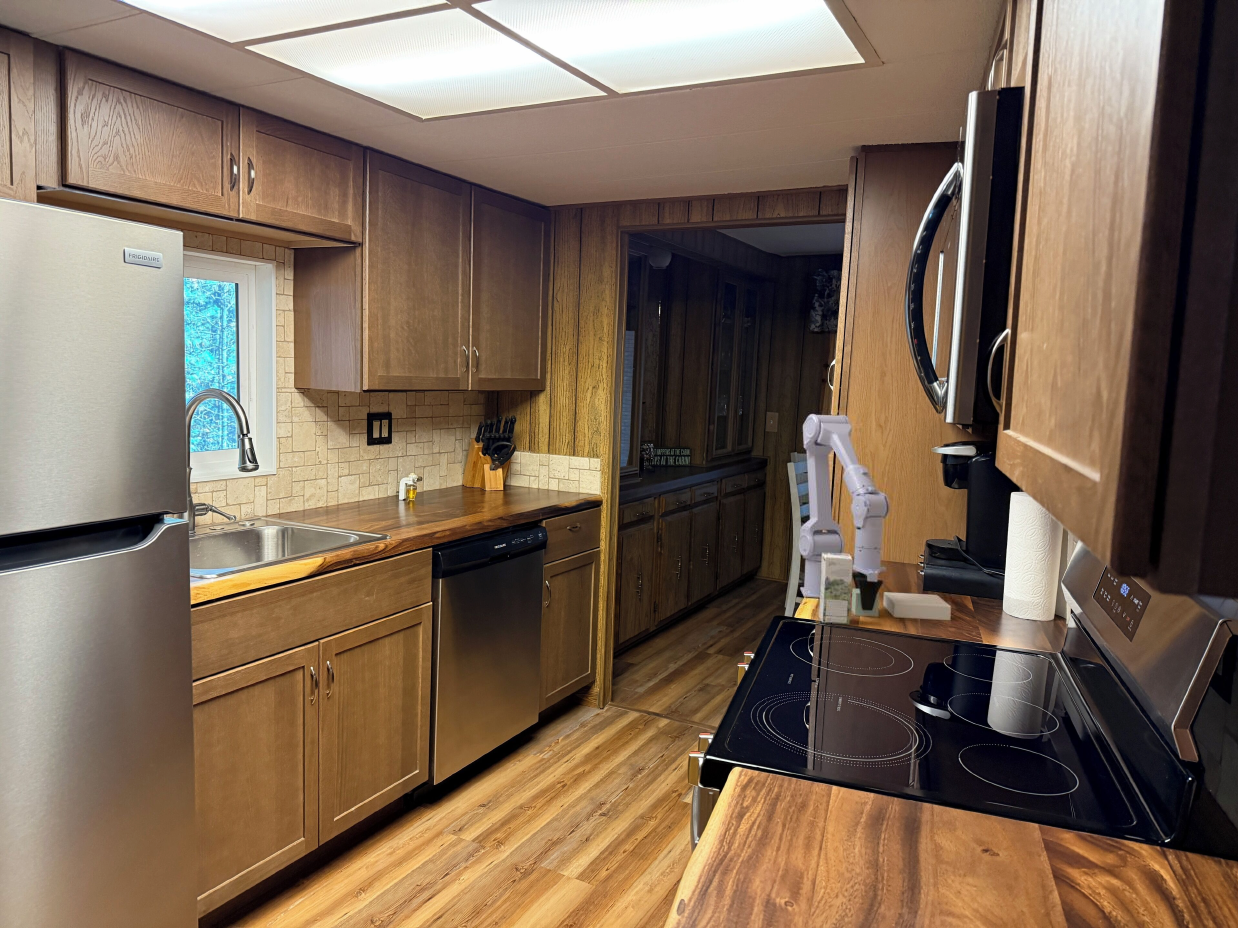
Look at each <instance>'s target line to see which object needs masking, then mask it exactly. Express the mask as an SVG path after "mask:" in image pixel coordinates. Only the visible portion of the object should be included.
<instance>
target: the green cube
mask: <svg viewBox="0 0 1238 928" xmlns="http://www.w3.org/2000/svg"><path fill="white" fill-rule="evenodd" d="M879 610H880V594H879V592H878V593H877V596H876V599H875V603H874V607H873V610H872V611H869V610H862V606H861V597H860V590H859V589H856V588H851V608H850V611H851V612H852V613H853V614H854V616H857V617H859V616H860V617H873V618H875V617H876V618H878V617H879Z"/></svg>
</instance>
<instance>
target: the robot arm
mask: <svg viewBox="0 0 1238 928" xmlns="http://www.w3.org/2000/svg"><path fill="white" fill-rule="evenodd" d="M802 433H803V434H802V437H803V448H804V449H805V450H806V463H807V465H806V466H807V481H808V483H807V484H808V485H807V487H808V505H809V520H807V521H806V522H805V523H804V524H803V525H801V527H800V530H799V531H800V532H799V533H800V534H799V539H798V550H799V552H800V554H801V556H802V558H803V559H805V560H804V561H805V562H804V564H805V565H804V581H803V582H804V583H803V584H804V585H803V586H801V587H800V588H799V589H800V591H801V594H802V595H803V597H804V598H819V599H820V583H821V563H822V553H841V554H844V551H845V540H844V537H843V533H842V527H841V525H840V524H839V523H838V522H836V521H835V520H834V519H833V515H832V514H833V513H832V497H831V495H832V494H831V493H832V492H831V476H830V475H831V474H830V458H829V455H830V454H831V452H832V451H833V452H835V455H836V457H837V458H838V460H839V462H840V464H841V466H842V467H843V468H844V473H843V477H842V478H843V482H844V483H845V486H846V488H847V489H848V492H849V495H850V497H851V500H852V504H850V509H851V513H852V516H853V517H852V518H853V525H854V526H855V536H854V537H855V538H854V539H855V540H854V556H853V567H852V580H853V583H854V589H859V590H860V597H861V606H862V610H869V611H872V610H873V607H874V603H875V599H876V596H877V593H879V591H880V588H881V587H882V586H883V584H884V581H883V580H882V579H878V577H879V575H878V574H880V573H881V572H886V571H887V568H886V567H885V566H881V561H882V546H883V545H882V542H883V526H884V525H883V524H884V519H885V518H886V517H887V516H888V515H889V512H890V502H889V499H888V496H887V495H886V494H885V493H884V492H882V491H881V490H880V489H877V487H876V485H875V483H874V480H873V478H872V476H871V474H870V472H869V470H868V468H867V467H866V466H865V465H861V464H860V461H859V459H858V456H857V453H856V450H855V448H854V445H853V443H852V439H851V436H852V433H853V427H852V425H851V421H850V419H849V417H848V416H847V415H845V414H841V415H829V414H827V415H826V414H821V415H820V414H814V413H811V414H809V415H808V416H807V417H806V419H805V420H804V423H803V424H802ZM815 531H816V532H815ZM808 591H809V593H808Z"/></svg>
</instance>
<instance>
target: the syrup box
mask: <svg viewBox="0 0 1238 928" xmlns="http://www.w3.org/2000/svg"><path fill="white" fill-rule="evenodd" d="M853 565H854V558H853V557H852V556H851V555H850V554H849V553H842V554H841V553H822V563H821V583H820V598H819V605H818V617H819V620H820V621H821V622H822V624H831V623H832V624H833V625H834V624H835V625H850V616H851V615H850V614H851V600H852V580H853V578H852V572H853ZM832 624H831V625H832Z"/></svg>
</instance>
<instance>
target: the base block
mask: <svg viewBox="0 0 1238 928" xmlns="http://www.w3.org/2000/svg"><path fill="white" fill-rule="evenodd" d="M882 602H883V603H882V605H883V606H884V607H885V609H886V610H887V611H888V612H889V613H890V614H891V616H892V617H893V618H902V619H903V618H905V619H920V620H921V619H922V620H937V621H939V620H941V621H951V615H952V614H951V613H952V612H951V611H952V606H951V605H949V604H948V603H947V602H946V601H945V600H944V599H942V598H941V597H940V596H939V595H937V594H926V593H925V594H922V593H905V592H886V591H884V592H883V601H882Z"/></svg>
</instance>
